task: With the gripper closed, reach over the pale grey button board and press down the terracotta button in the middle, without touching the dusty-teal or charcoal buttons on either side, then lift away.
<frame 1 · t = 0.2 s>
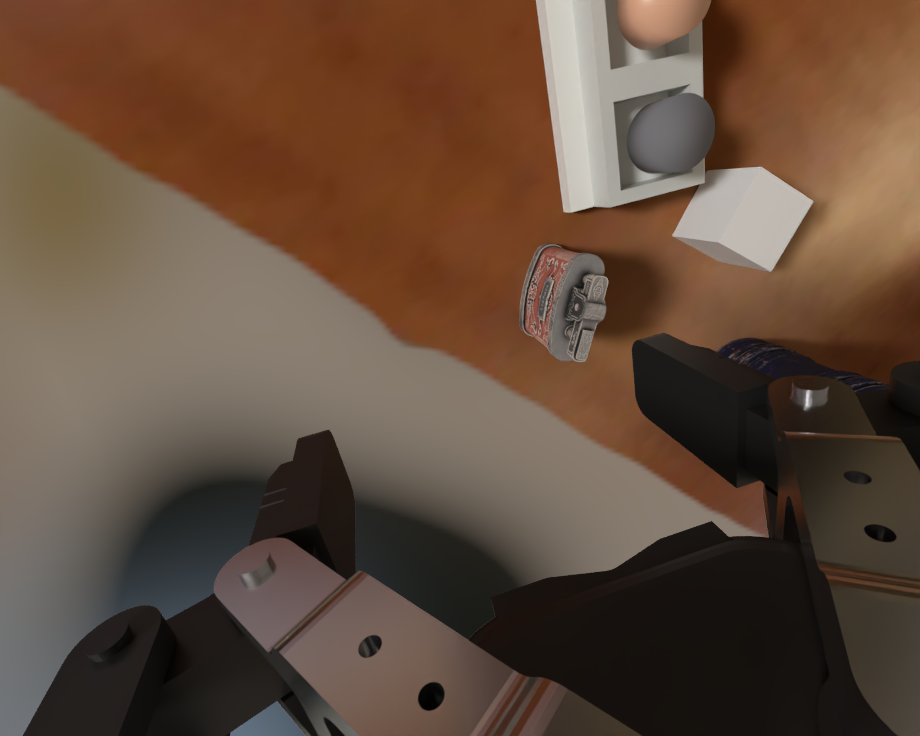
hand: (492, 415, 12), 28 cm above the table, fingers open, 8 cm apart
white cube: (711, 217, 43), on the table
charcoal button: (669, 135, 33), point 6 cm above the table, slide at 0.0 cm
lighter: (539, 289, 42), on the table
button board: (616, 29, 35), on the table
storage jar: (735, 381, 49), on the table
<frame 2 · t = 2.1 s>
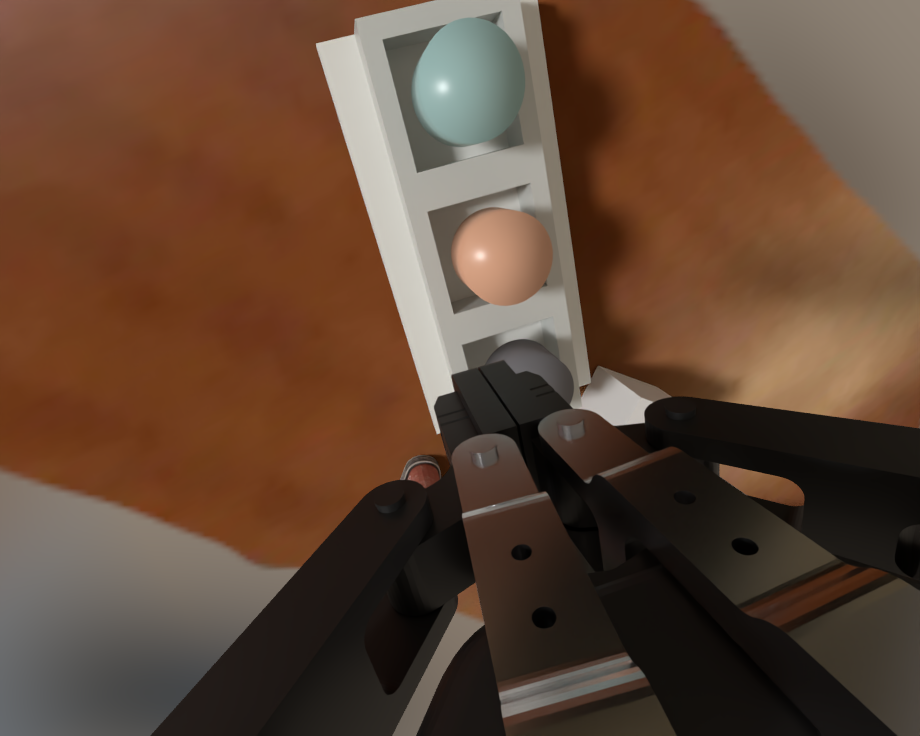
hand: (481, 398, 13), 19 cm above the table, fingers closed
white cube: (608, 407, 38), on the table
charcoal button: (526, 384, 29), point 6 cm above the table, slide at 0.0 cm
lighter: (416, 497, 37), on the table
teal button: (465, 88, 22), point 6 cm above the table, slide at 0.0 cm
button board: (473, 242, 31), on the table
terracotta button: (500, 255, 25), point 6 cm above the table, slide at 0.0 cm
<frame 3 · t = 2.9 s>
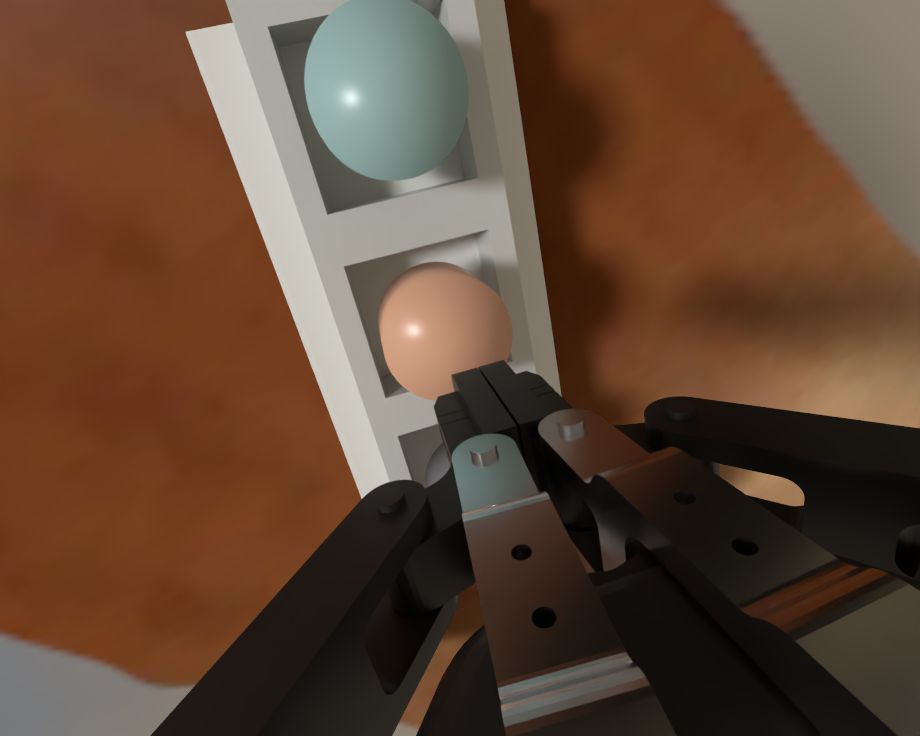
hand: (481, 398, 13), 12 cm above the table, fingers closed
charcoal button: (481, 490, 22), point 6 cm above the table, slide at 0.0 cm
teal button: (386, 101, 15), point 6 cm above the table, slide at 0.0 cm
button board: (421, 296, 24), on the table
terracotta button: (442, 329, 18), point 6 cm above the table, slide at 0.0 cm
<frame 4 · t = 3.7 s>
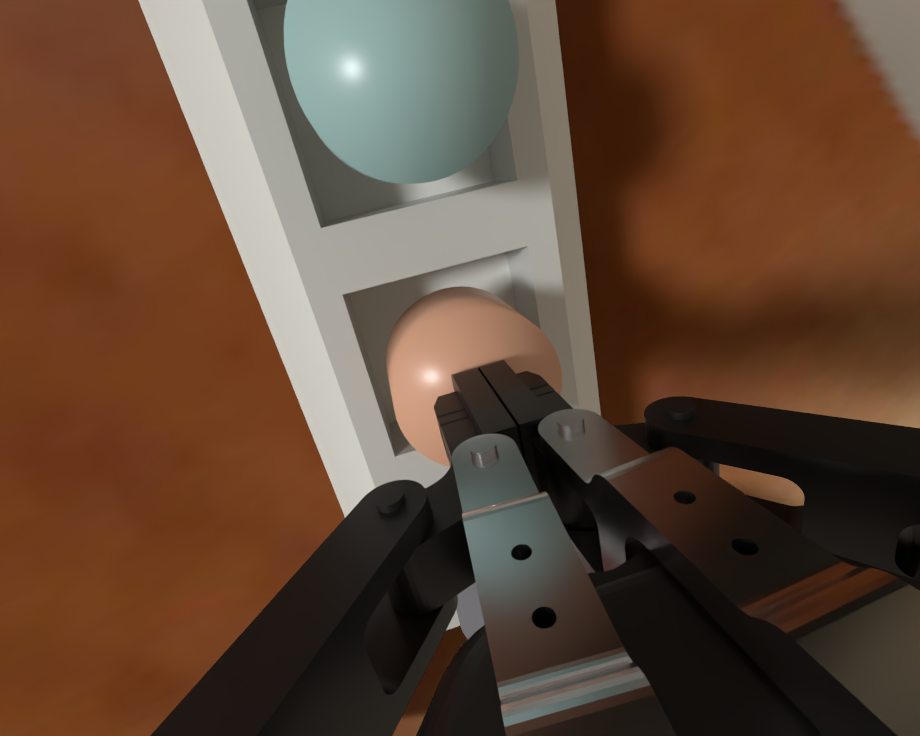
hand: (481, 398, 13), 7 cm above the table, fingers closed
charcoal button: (514, 569, 17), point 6 cm above the table, slide at 0.0 cm
teal button: (400, 74, 11), point 6 cm above the table, slide at 0.0 cm
button board: (437, 324, 20), on the table
terracotta button: (468, 374, 14), point 6 cm above the table, slide at -0.2 cm, touching gripper
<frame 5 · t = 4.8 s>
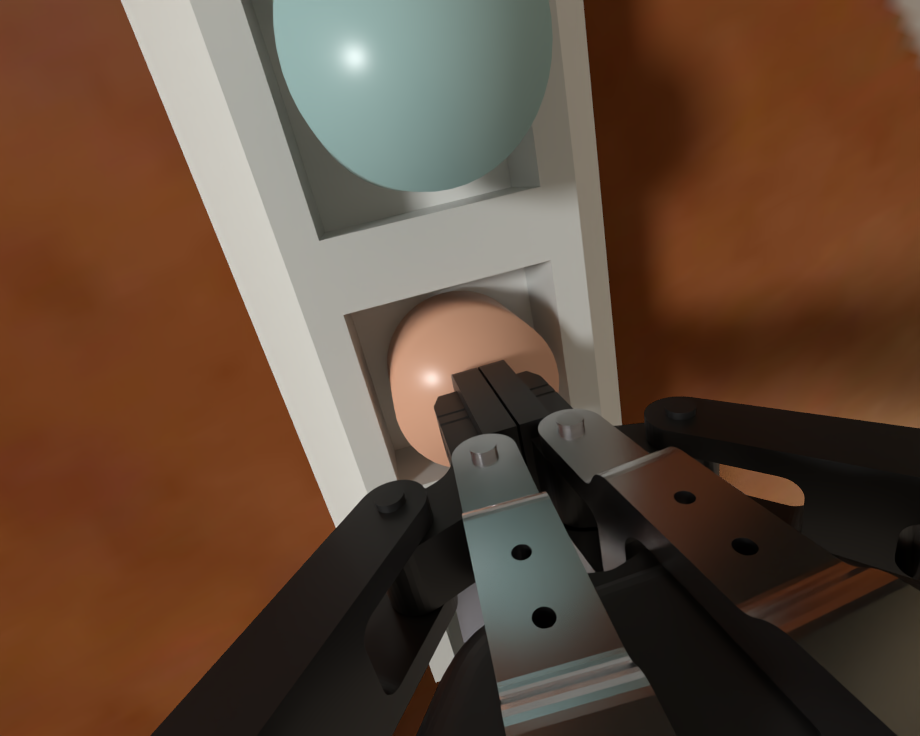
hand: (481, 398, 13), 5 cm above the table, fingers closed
charcoal button: (532, 616, 16), point 6 cm above the table, slide at 0.0 cm
teal button: (411, 64, 10), point 6 cm above the table, slide at 0.0 cm
button board: (447, 342, 18), on the table
terracotta button: (467, 376, 15), point 4 cm above the table, slide at -2.3 cm
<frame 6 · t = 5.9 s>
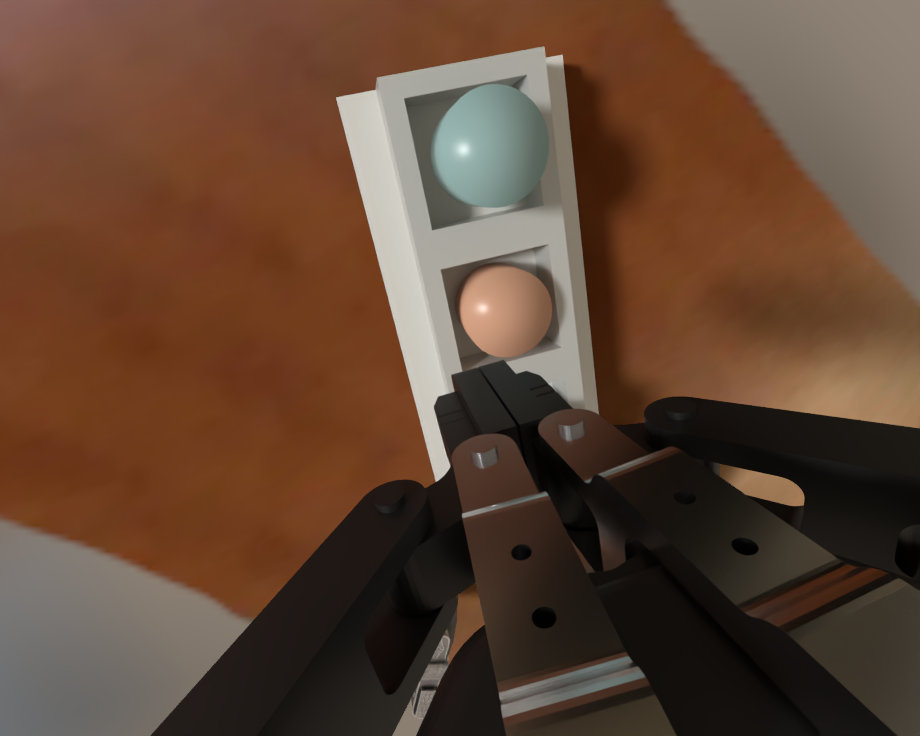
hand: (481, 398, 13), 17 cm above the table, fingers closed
lighter: (413, 553, 36), on the table
teal button: (487, 151, 22), point 6 cm above the table, slide at 0.0 cm
button board: (486, 296, 30), on the table
terracotta button: (501, 308, 27), point 4 cm above the table, slide at -2.3 cm
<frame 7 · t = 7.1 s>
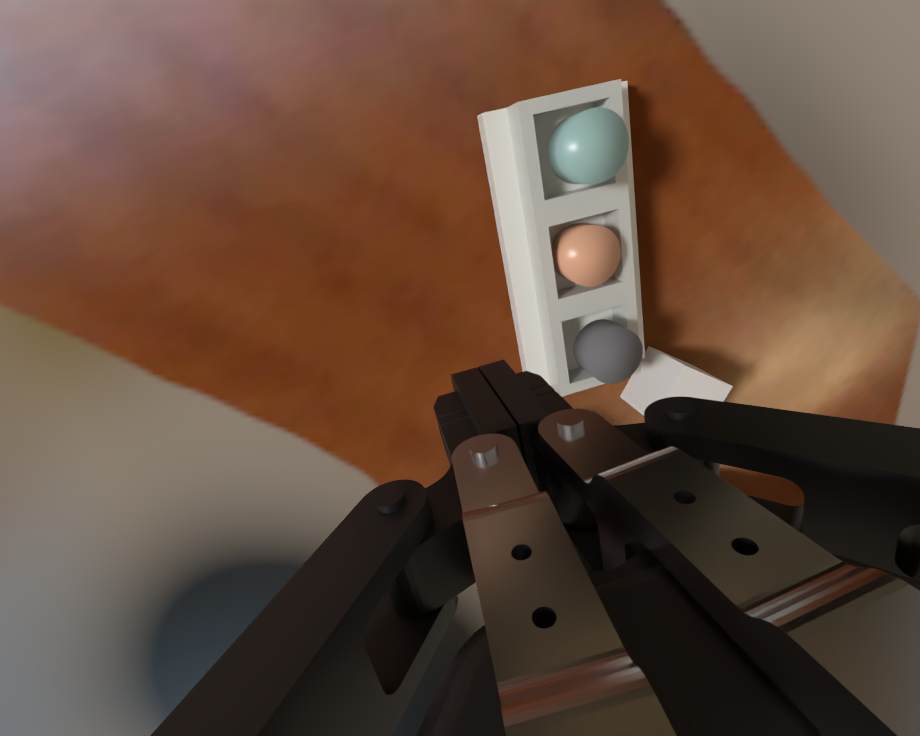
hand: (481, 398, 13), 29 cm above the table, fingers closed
white cube: (654, 379, 50), on the table
charcoal button: (607, 351, 40), point 6 cm above the table, slide at 0.0 cm
teal button: (587, 148, 34), point 6 cm above the table, slide at 0.0 cm
button board: (567, 249, 42), on the table
terracotta button: (584, 254, 39), point 4 cm above the table, slide at -2.3 cm
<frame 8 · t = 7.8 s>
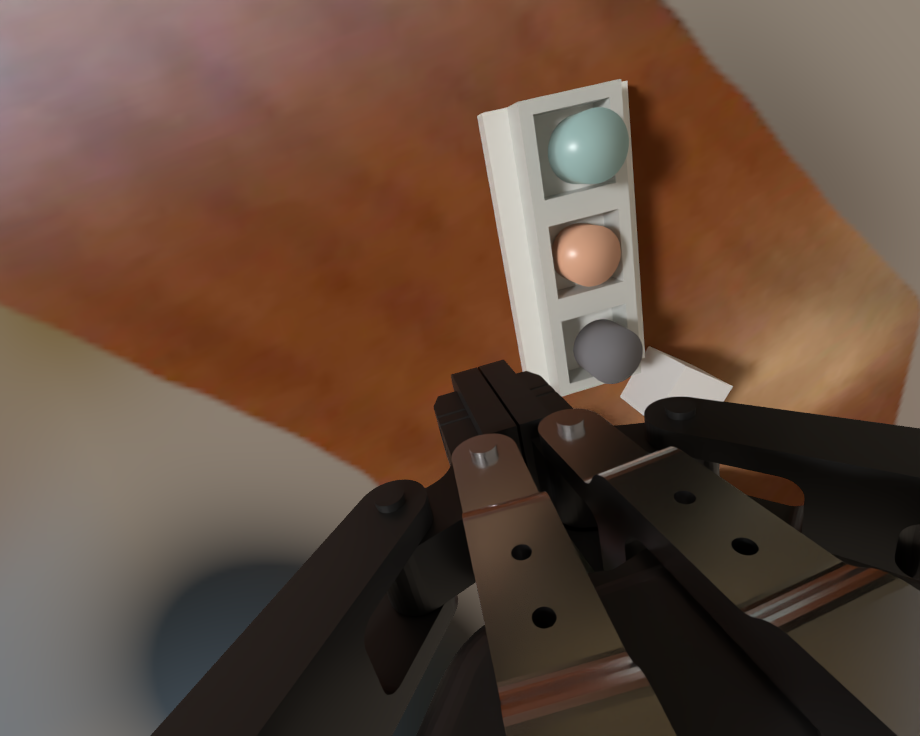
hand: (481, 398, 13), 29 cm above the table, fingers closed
white cube: (654, 379, 50), on the table
charcoal button: (607, 350, 40), point 6 cm above the table, slide at 0.0 cm
teal button: (587, 148, 34), point 6 cm above the table, slide at 0.0 cm
button board: (567, 249, 42), on the table
terracotta button: (584, 254, 39), point 4 cm above the table, slide at -2.3 cm
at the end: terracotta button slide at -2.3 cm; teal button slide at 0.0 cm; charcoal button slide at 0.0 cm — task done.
